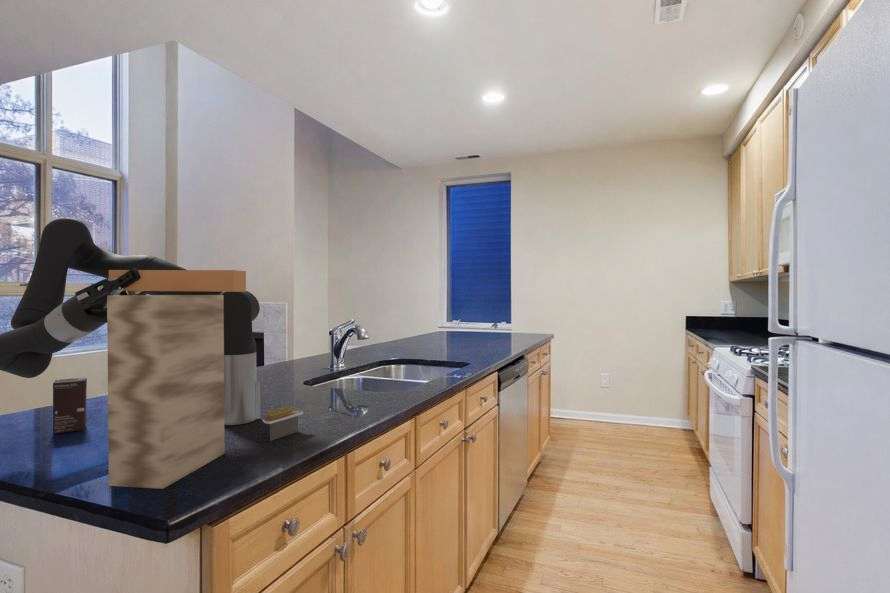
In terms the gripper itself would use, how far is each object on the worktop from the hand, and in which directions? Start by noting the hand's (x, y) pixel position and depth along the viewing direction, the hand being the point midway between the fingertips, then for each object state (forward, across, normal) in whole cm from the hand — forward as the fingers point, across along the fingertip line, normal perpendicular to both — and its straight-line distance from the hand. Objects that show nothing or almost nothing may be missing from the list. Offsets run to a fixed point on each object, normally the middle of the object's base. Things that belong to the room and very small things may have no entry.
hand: (146, 273), depth 91 cm
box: (-46, +14, +16) cm, 51 cm away
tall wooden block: (-11, -4, +36) cm, 37 cm away
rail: (+4, 0, +6) cm, 7 cm away
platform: (-1, +17, +42) cm, 45 cm away
